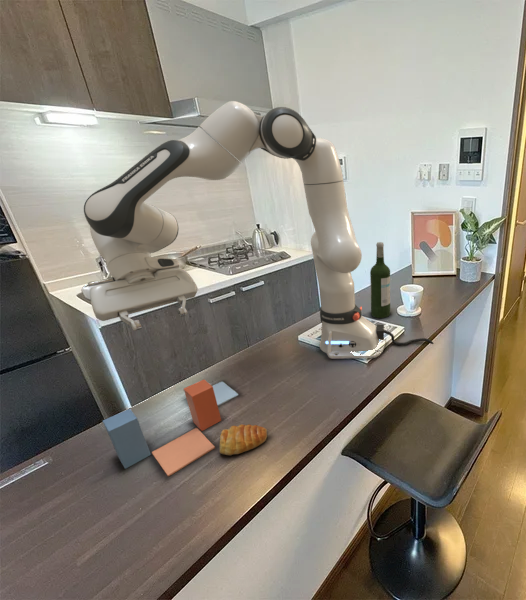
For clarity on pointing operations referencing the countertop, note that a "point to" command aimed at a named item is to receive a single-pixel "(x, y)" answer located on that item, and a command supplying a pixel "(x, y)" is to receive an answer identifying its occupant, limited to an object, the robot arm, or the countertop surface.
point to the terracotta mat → (182, 451)
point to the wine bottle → (380, 285)
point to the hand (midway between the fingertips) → (162, 321)
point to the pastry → (241, 438)
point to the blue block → (127, 438)
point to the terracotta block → (202, 404)
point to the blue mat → (223, 393)
